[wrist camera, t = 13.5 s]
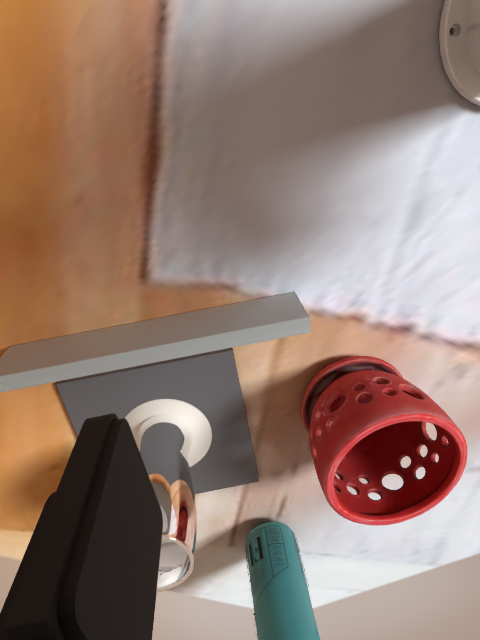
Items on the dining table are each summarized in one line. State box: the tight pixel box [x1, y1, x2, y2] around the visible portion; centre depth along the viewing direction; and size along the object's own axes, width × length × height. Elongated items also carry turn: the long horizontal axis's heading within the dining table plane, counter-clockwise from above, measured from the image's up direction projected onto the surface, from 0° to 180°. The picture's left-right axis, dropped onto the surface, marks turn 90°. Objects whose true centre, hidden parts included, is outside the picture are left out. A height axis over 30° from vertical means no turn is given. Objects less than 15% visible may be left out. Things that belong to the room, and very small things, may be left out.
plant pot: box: [301, 356, 467, 525], centre depth 43 cm, size 13×13×12 cm
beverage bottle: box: [245, 522, 320, 640], centre depth 46 cm, size 6×7×20 cm
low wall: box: [0, 292, 311, 392], centre depth 39 cm, size 28×2×6 cm, turn 100°
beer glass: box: [136, 415, 197, 592], centre depth 40 cm, size 7×7×15 cm
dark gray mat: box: [56, 348, 259, 494], centre depth 47 cm, size 18×18×1 cm
